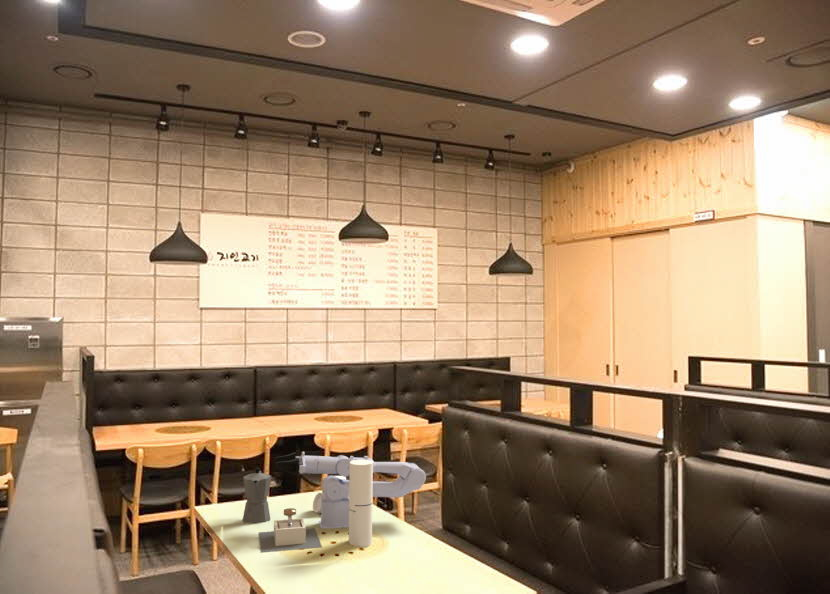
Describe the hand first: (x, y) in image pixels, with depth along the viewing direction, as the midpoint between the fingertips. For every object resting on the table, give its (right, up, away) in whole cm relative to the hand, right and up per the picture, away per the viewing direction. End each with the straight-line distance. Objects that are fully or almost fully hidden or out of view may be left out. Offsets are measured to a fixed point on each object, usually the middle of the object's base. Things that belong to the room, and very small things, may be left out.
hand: (274, 463), depth 212 cm
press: (+7, -21, -11) cm, 25 cm away
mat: (+7, -21, -11) cm, 25 cm away
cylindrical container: (+29, -22, -12) cm, 38 cm away
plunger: (+7, -17, -11) cm, 21 cm away
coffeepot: (-8, -22, +10) cm, 26 cm away
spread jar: (+16, -23, +20) cm, 34 cm away
